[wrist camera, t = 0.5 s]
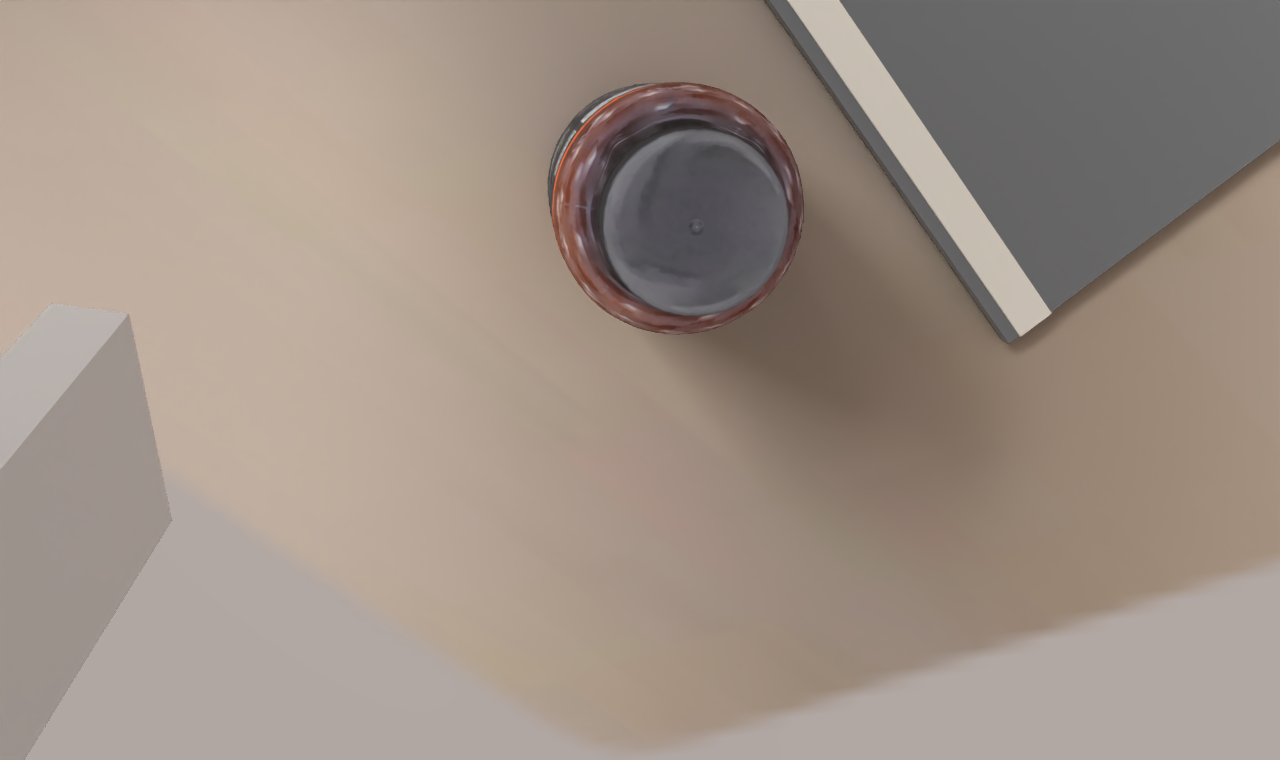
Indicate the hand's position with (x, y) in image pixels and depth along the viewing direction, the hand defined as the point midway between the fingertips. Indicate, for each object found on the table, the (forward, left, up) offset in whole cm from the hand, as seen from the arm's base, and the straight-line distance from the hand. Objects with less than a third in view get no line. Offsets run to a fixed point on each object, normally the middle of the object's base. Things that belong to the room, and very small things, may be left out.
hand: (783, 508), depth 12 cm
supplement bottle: (0, +1, -25) cm, 25 cm away
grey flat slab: (+4, +15, -25) cm, 30 cm away
